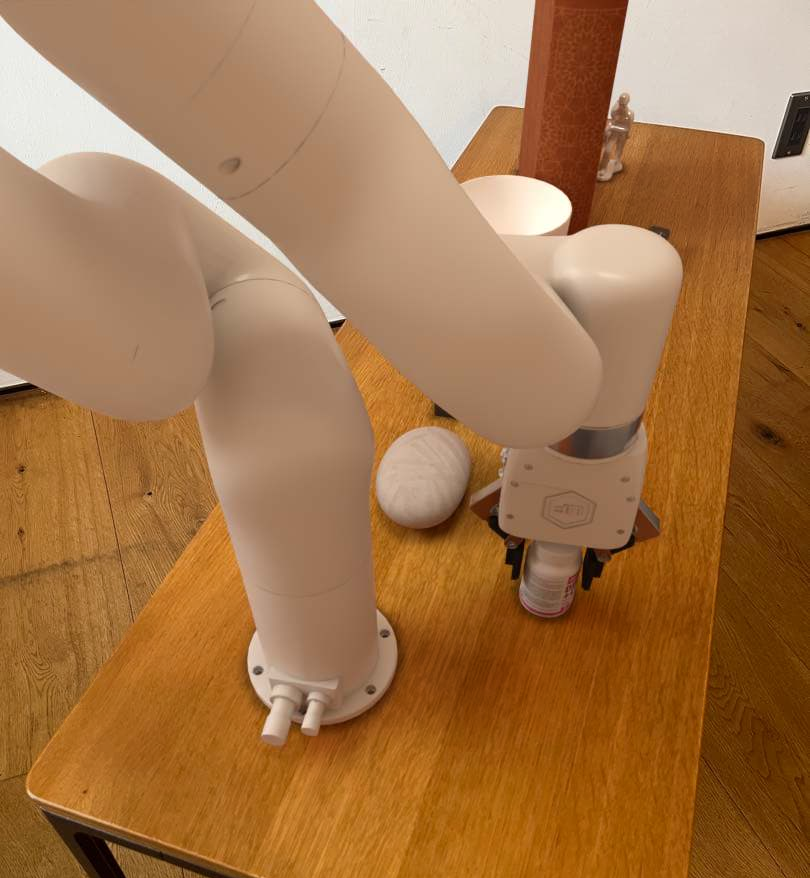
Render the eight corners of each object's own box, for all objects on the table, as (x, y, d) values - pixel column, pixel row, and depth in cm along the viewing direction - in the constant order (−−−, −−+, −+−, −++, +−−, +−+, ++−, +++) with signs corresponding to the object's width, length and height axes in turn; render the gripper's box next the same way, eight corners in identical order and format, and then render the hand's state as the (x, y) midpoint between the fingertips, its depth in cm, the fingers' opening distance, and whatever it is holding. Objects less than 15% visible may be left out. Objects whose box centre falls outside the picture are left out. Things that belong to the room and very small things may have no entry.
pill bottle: (570, 623, 69) (586, 563, 62) (515, 614, 70) (526, 555, 63) (573, 580, 72) (589, 519, 65) (521, 572, 73) (532, 511, 66)
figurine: (628, 164, 125) (645, 82, 115) (614, 190, 119) (631, 106, 110) (599, 159, 126) (613, 78, 117) (584, 185, 120) (598, 101, 111)
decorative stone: (403, 441, 84) (402, 405, 80) (484, 461, 82) (487, 425, 78) (358, 527, 76) (355, 492, 72) (446, 551, 74) (448, 516, 70)
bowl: (547, 318, 98) (557, 247, 91) (425, 295, 102) (426, 225, 94) (571, 253, 108) (583, 184, 100) (460, 235, 111) (463, 167, 104)
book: (517, 171, 123) (541, -64, 100) (570, 172, 123) (606, -64, 100) (526, 248, 109) (556, -6, 86) (585, 249, 108) (632, -6, 85)
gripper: (454, 433, 53) (446, 592, 67) (717, 466, 51) (652, 623, 64) (470, 364, 57) (459, 526, 71) (711, 392, 55) (651, 553, 69)
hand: (551, 571), depth 68 cm, fingers open, 5 cm apart
